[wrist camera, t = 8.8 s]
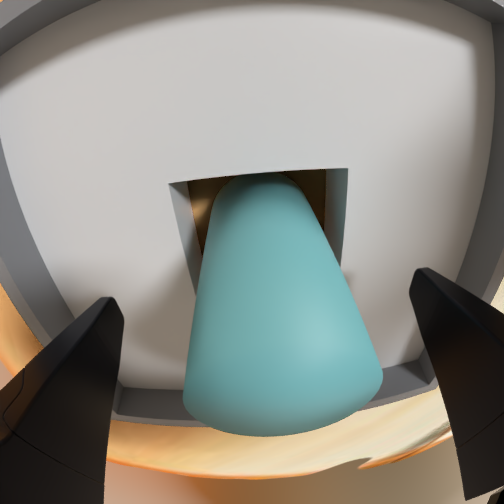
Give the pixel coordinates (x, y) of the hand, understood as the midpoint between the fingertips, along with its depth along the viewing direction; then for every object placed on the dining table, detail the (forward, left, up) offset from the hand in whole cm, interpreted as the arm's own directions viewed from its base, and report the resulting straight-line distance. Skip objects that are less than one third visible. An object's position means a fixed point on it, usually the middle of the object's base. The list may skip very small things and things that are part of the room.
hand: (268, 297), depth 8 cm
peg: (0, 0, -5) cm, 5 cm away
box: (0, 0, -5) cm, 5 cm away
